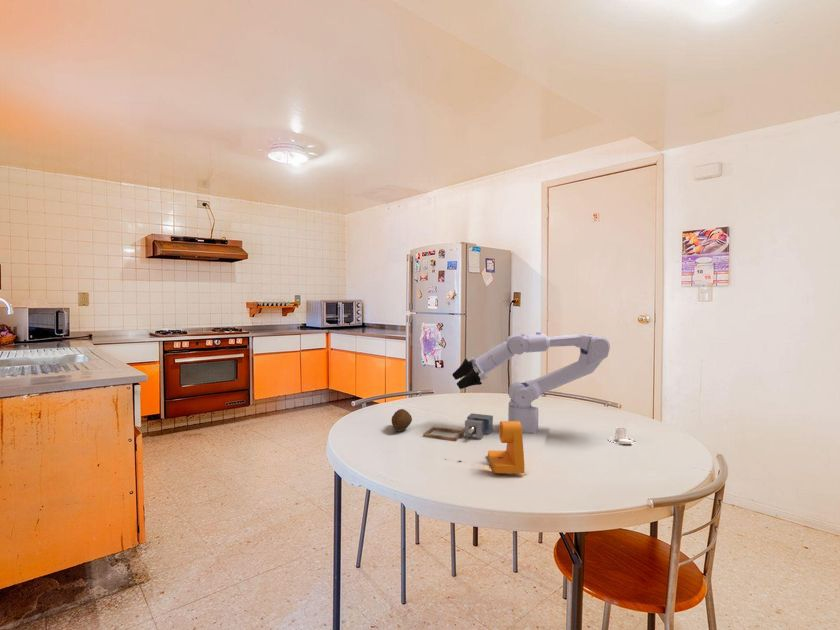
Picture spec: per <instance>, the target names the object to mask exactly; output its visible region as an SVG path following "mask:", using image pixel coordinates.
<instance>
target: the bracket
mask: <svg viewBox="0 0 840 630" xmlns="http://www.w3.org/2000/svg"><path fill="white" fill-rule="evenodd" d="M498 428H499V429H498V431H499V440H500V443H501V444H506V448H505V449H506V450H488V451H487V458H488V460H489V463H490V464H489V468H490V469H491V472H492V473H496V474H525V455H524V454H525V453H524V441H523V440H524V439H523V432H522V426H521V423H520V421H508V420H500V422H499V427H498Z"/></svg>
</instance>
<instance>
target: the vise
mask: <svg viewBox="0 0 840 630" xmlns="http://www.w3.org/2000/svg"><path fill="white" fill-rule="evenodd" d="M467 419H469V420H477V421H483V435H490V434H491V433H492V432H493V431H494V430H493V429H494V428H493V427H494V415H489V414H482V413H481V414H480V413H471V412H470V414H469V415H468V416H467V417H466V420H467ZM468 433H469V434H471V435H472V434H476V427H471V428H470V429H469V430H468Z"/></svg>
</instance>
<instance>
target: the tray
mask: <svg viewBox="0 0 840 630" xmlns="http://www.w3.org/2000/svg"><path fill="white" fill-rule="evenodd" d="M435 431H437V432H438V431H439V432H444V433H445V432H446V433H452V434H457V435H455V436H454V437H453V436H448V435H442V434H441V435H440V434H432V432H435ZM463 435H465V430H464V429H463V430H461V429H454V428H447V427H437V426H432V427H431V428H430V429H428V430H426V431H425V432H423V434H422V437H423V438H431V439H437V440H445V441H451V442H452V441H453V442H457V441H458V440H459V439H460V438H461V437H462V436H463Z"/></svg>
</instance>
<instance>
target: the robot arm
mask: <svg viewBox="0 0 840 630" xmlns="http://www.w3.org/2000/svg"><path fill="white" fill-rule="evenodd" d="M552 347H553V348H554V347H555V348H556V347H576V348H579V350H580V351H579V352H580V353H579V357H578V360H577V361H575V362H573V363H569V364H568V365H566V366H563V367H560V368H559V369H556V370H553V371H551V372H549V373H547V374H544V375H542V376H540V377H537V378H534V379H530V380H525V381H522V382H520V381H519V382H518V381H517V382H516V381H515V382H513V383H511V384H510V385H509V386H508V389H507V394H508V397H509V398H510V400H509V402H508V410H507V411H508V413H507V417H508V419H507V421H520V423H521V426H522V433H527V434H529V433H530V434H537V432H538V431H539V407H536V406H533V405H532V403H533V402H534V401H535V400H537V399H539V398H540V396H541V395H542V394H545V393H547V392H550V391H552V390H554V389H556V388H560V387H561V386H564V385H566V384H568V383H571V382H574V381H575V380H578V379H581V378H583V377H586V376H588V375H590V374H592V373H594V371H596V370H597V368H598V367H599V366H600V364H601V363H602V362H603V361H604V360H605V359H606V358H608V356H609V352H610V349H611V345H610V341H609V340H607V338H606V337H604V336H601V335H600V336H599V335H598V336H597V335H594V334H592V333H591V334H585V333H584V334H582V333H581V334H580V333H575V334H565V335H556V336H555V335H554V336H548V335H547V334H545V333H542V332H541V331H536V332H535V333H534V334H525V333H521V334H520V335H515V334H514V335H509V336H507V337H506V338H505V340H504V341H502V342H501V343H500V344H497V345H496V346H494V347H493V348H491V349H489V350H487V351H486V352H485V353H483V354H481V355H480V356H478V357H477V358H475V357H474V356H472V357H471V358H469V359H467V358H464V360H463V362H462V363H461V364H460V366H459V367H458V368H457V369H456V370H454V372H453V373H452V374H451V375H452V377H453V378H454V380H458V382H456V386H457V387H458V389H459V390H462V389H466V388H468V387H472V386H481V385H482V384H483V383H482V381H485V380H486V379H487V378H488V377H487V375H486V374H487V373H489V372H491V371H492V370H494V369H496V368H497V367H499V366H501V365H502V364H504V363H506V362H507V361H508V360H510V359H511V358H513V357H514V356H515V355H519V356H520V355H523V354H524V353H537V352H538V353H539V352H546V351H547V350H548V349H549V348H552ZM459 379H460V380H459Z"/></svg>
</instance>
